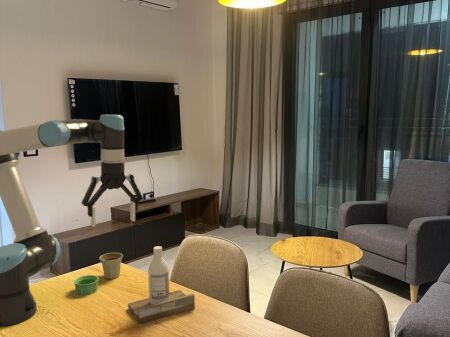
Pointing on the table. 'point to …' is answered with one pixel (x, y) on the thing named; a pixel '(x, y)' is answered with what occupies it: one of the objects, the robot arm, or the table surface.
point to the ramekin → (86, 284)
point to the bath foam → (158, 278)
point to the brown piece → (161, 307)
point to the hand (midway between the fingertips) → (113, 223)
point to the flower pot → (111, 264)
